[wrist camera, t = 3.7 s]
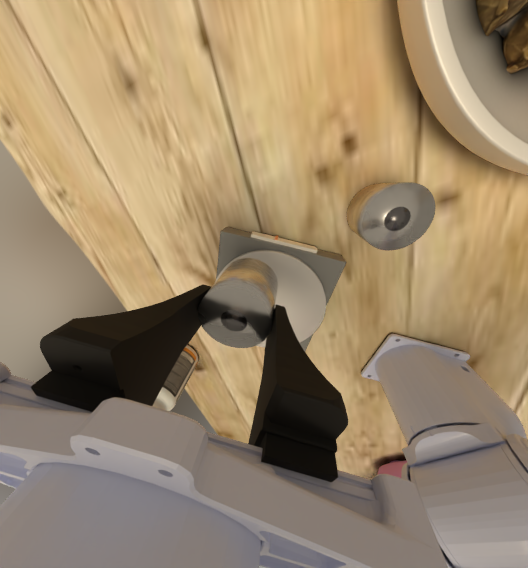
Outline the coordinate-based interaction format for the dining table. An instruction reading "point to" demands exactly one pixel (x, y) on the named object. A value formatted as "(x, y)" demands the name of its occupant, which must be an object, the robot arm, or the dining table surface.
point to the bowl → (473, 72)
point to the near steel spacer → (240, 304)
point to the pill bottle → (177, 379)
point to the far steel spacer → (391, 214)
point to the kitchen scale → (288, 274)
